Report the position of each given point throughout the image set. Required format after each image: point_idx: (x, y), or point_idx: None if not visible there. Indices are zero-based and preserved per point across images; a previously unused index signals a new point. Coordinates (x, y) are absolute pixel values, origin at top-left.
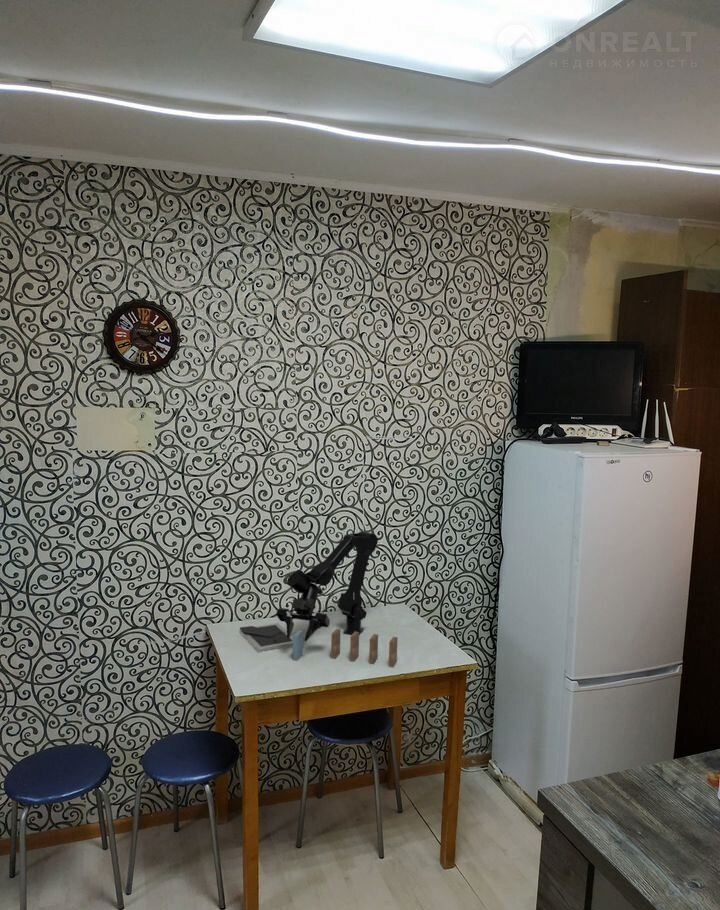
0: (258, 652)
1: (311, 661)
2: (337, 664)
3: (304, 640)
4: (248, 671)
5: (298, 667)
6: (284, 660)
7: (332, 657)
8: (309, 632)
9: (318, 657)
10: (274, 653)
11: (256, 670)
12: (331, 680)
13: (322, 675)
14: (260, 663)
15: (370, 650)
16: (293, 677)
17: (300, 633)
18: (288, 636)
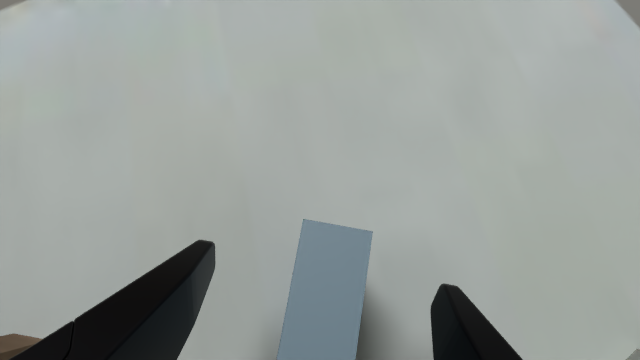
0: (636, 350)
1: None
2: (3, 234)
3: (212, 242)
4: (556, 51)
5: (277, 144)
6: (397, 238)
7: (30, 340)
8: (92, 314)
9: None
10: None
11: (518, 68)
12: (55, 9)
13: (111, 60)
14: (537, 164)
15: None
16: (281, 16)
17: (278, 353)
18: (447, 293)
